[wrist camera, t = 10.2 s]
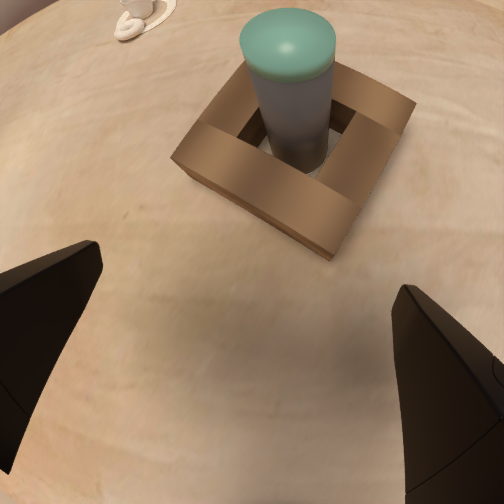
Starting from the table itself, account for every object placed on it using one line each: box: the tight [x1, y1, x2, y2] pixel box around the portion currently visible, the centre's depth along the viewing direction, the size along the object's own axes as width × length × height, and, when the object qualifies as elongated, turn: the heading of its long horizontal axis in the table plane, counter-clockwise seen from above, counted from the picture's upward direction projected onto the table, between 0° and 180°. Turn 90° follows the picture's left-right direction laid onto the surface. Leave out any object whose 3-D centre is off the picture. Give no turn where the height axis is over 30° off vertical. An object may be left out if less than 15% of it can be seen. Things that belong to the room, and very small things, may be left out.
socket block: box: [170, 61, 417, 261], centre depth 20 cm, size 12×12×4 cm
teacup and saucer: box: [114, 0, 177, 40], centre depth 26 cm, size 9×8×4 cm
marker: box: [240, 8, 336, 174], centre depth 17 cm, size 4×4×12 cm
